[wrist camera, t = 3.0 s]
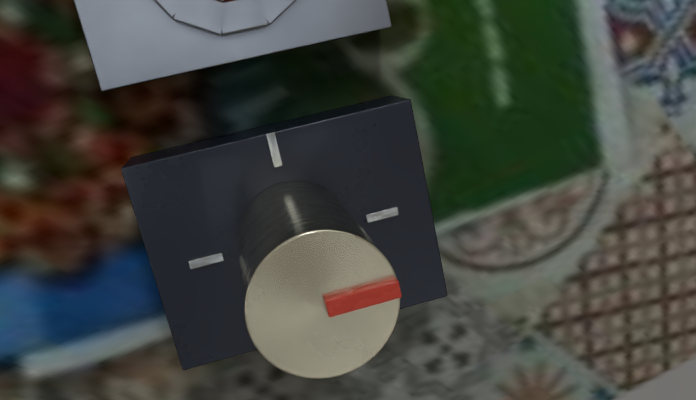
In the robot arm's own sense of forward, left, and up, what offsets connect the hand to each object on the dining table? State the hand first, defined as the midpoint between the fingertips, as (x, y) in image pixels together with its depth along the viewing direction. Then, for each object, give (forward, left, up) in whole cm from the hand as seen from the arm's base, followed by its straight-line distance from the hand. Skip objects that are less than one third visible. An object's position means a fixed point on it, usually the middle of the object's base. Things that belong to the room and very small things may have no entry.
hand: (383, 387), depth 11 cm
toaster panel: (0, -2, -19) cm, 19 cm away
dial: (0, -2, -16) cm, 16 cm away
